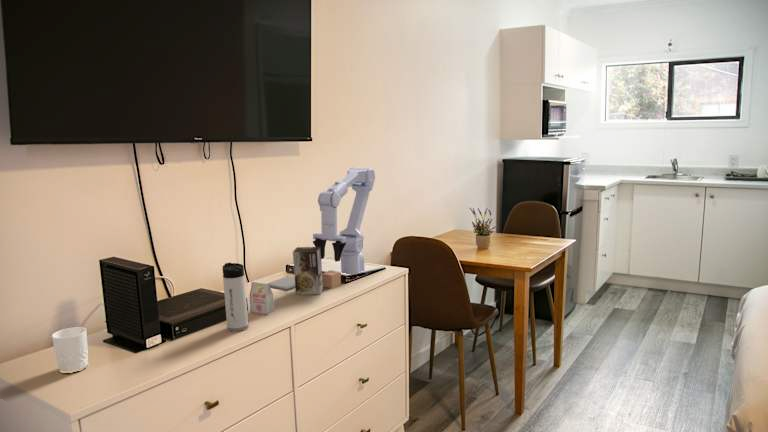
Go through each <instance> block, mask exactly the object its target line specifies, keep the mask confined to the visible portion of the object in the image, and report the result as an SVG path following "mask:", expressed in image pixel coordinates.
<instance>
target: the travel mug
mask: <svg viewBox="0 0 768 432" xmlns="http://www.w3.org/2000/svg"><path fill="white" fill-rule="evenodd" d="M222 282H223V294H224V304H225V306H224V307H225V318H226V329H227V330H228V331H229V332H232V331H238V332H242V331H241V330H243V331H245V330H247V329H248V328H249V318H248V317H249V316H248V306H247V305H248V303H247V293H246V290H247V289H246V279H245V267H244V265H243V264H242V263H238V262H237V263H236V262H235V263H234V262H226V263H224V265H223V266H222ZM244 329H245V330H244Z"/></svg>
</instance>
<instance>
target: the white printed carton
mask: <svg viewBox="0 0 768 432" xmlns="http://www.w3.org/2000/svg"><path fill="white" fill-rule="evenodd" d="M271 288H272V287H270V285H269V284H267V283H265V282H257V281H251V287H250V290H249V308H250V313H251V312H253V313H252V314H256V313H258V315H263V314H264V316H269V315H270V314H273V313H275V302H274V294H273V291H272V289H271Z"/></svg>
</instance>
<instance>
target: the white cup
mask: <svg viewBox="0 0 768 432" xmlns="http://www.w3.org/2000/svg"><path fill="white" fill-rule="evenodd" d="M87 332H88V331H87V328H86V327H83V326H82V327H81V326H72V327H68V328H63V329H60V330H58V331H55V332H53V333H52V335H51V339H52V344H53V349H54V355H55V359H56V362H57V366H58V370H59V369H60V370H62V371H72V370H77V369H80V368H82V367H85V366H86V365H87V364H88V365H89V348H88V347H89V346H88V334H87Z"/></svg>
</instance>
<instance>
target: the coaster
mask: <svg viewBox="0 0 768 432" xmlns="http://www.w3.org/2000/svg"><path fill="white" fill-rule="evenodd" d="M266 284H269V285H270V288H275V289H277V290H278V289H279V290H282V291H283V290H284V291H287V292H289V291H291V290H293V289H296V288H295V277H293V276H284V277H282V278H279V279H276V280H273V281H270V282H267V283H266Z"/></svg>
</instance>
